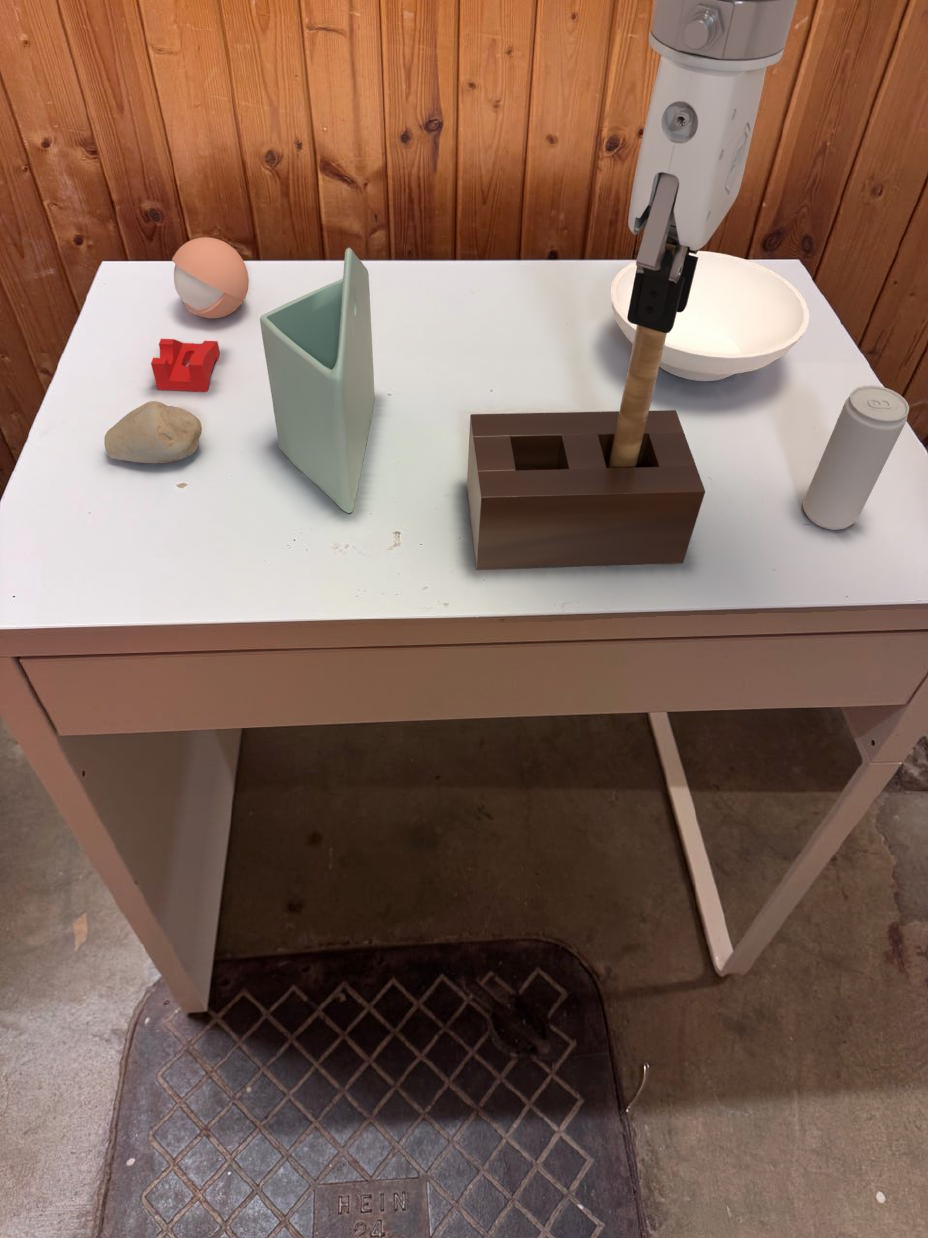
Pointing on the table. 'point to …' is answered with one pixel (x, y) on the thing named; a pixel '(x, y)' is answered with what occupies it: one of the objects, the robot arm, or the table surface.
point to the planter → (324, 380)
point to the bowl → (723, 318)
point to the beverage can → (855, 456)
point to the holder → (578, 491)
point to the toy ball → (210, 277)
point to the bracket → (184, 365)
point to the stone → (154, 434)
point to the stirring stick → (637, 394)
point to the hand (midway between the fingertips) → (656, 313)
